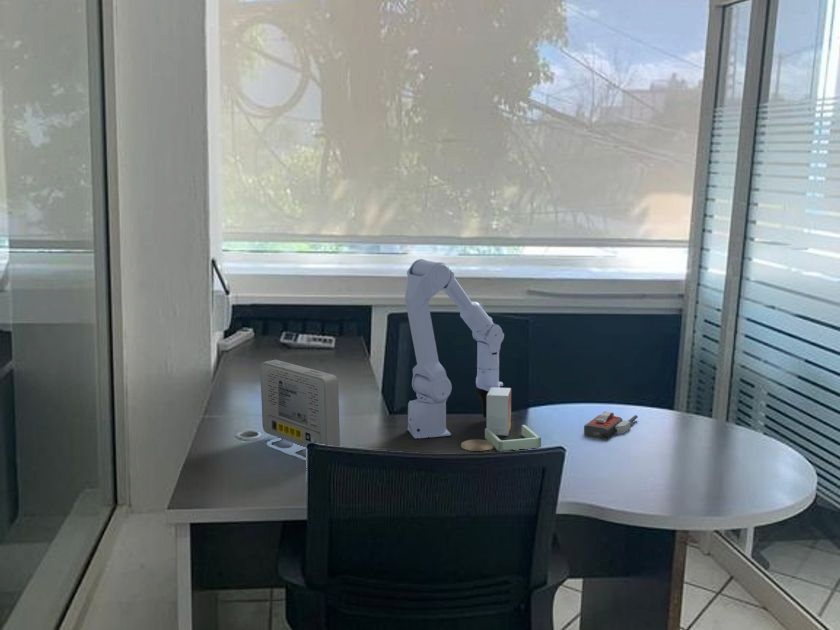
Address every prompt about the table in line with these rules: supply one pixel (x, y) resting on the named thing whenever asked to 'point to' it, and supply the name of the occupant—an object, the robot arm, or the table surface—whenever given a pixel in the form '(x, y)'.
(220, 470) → the table surface
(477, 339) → the robot arm
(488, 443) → the cork coaster
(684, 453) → the table surface
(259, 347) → the table surface
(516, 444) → the bracket
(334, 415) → the network device
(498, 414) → the small box
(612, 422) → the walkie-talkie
